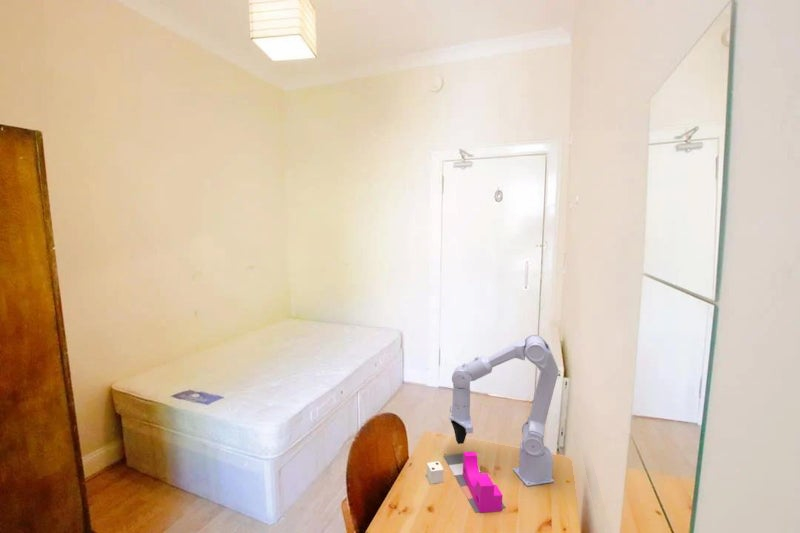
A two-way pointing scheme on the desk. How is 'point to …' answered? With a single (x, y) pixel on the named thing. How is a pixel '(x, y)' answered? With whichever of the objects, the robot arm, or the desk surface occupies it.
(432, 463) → the die
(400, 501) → the desk surface
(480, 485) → the toy block
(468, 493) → the board
